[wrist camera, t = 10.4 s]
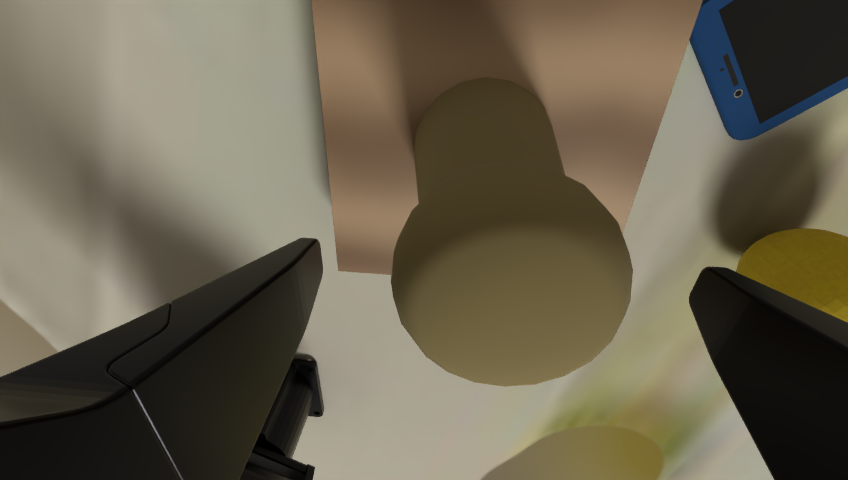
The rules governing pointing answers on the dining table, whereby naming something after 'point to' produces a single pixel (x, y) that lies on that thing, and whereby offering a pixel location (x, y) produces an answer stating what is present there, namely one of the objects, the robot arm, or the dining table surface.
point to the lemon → (802, 267)
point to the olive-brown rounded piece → (505, 244)
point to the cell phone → (770, 58)
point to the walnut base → (495, 58)
